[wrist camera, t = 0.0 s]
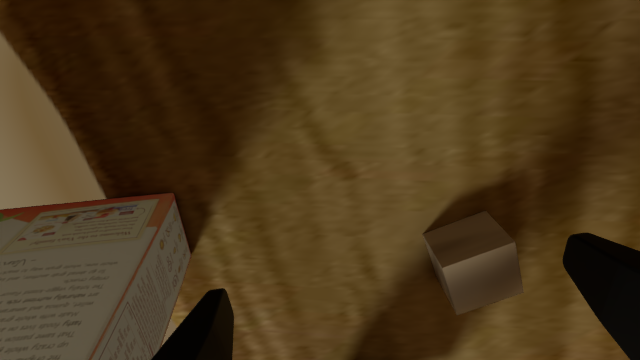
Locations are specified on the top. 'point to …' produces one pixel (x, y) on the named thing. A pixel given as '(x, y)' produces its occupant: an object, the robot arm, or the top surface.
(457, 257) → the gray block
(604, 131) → the top surface
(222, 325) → the robot arm
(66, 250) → the cracker box
